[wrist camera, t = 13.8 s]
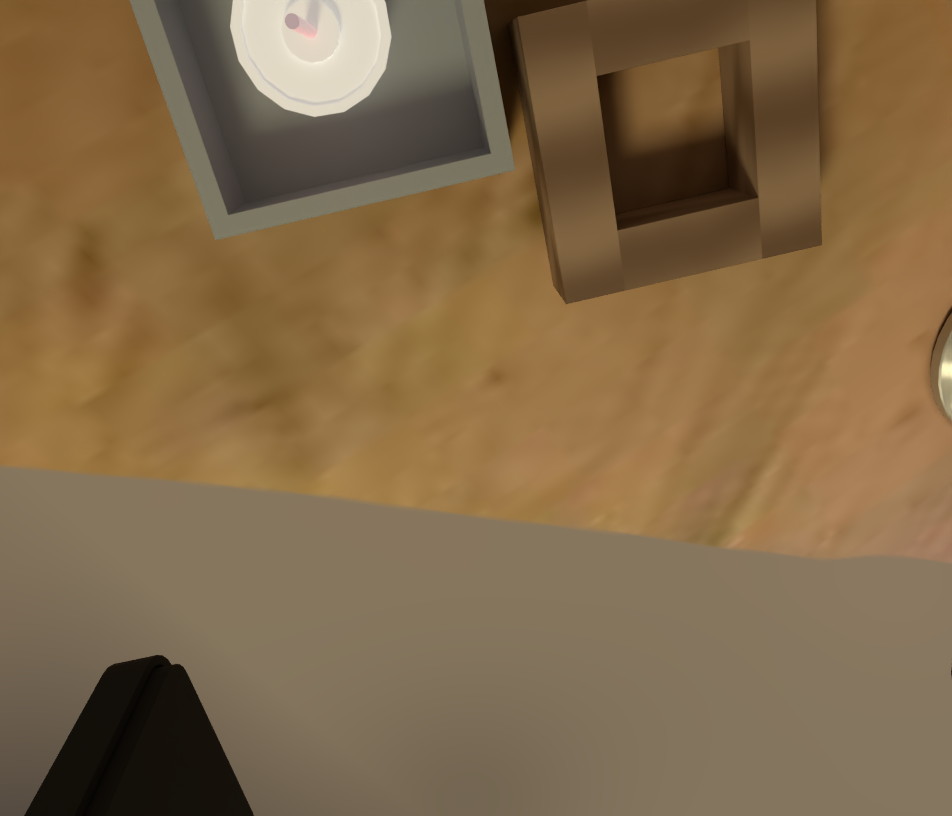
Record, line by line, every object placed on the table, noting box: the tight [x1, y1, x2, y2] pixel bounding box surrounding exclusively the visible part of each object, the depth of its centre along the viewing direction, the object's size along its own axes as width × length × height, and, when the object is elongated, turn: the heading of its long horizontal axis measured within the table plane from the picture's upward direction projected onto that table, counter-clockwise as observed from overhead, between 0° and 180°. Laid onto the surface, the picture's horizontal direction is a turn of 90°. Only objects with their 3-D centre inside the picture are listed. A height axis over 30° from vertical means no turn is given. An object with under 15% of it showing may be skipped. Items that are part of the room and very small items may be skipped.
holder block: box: [508, 0, 822, 304], centre depth 39 cm, size 14×14×4 cm
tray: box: [130, 0, 515, 240], centre depth 35 cm, size 15×15×5 cm
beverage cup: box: [230, 0, 392, 117], centre depth 30 cm, size 6×6×14 cm
